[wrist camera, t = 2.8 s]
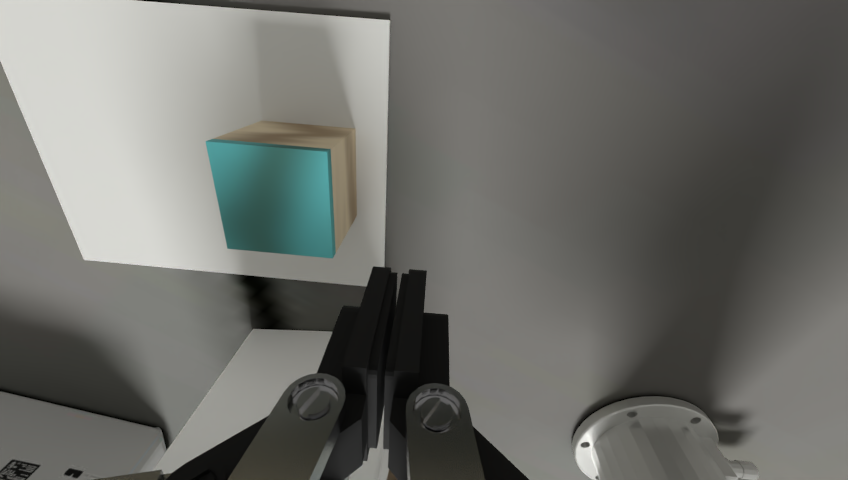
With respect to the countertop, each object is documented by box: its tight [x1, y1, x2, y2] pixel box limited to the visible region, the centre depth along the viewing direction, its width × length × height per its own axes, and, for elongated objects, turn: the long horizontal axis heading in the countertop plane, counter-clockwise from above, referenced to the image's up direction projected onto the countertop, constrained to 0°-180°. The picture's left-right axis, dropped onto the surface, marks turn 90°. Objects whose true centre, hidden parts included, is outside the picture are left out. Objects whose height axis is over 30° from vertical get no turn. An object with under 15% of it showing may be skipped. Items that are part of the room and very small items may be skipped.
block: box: [205, 121, 357, 259], centre depth 22 cm, size 6×6×6 cm
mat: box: [0, 0, 390, 287], centre depth 25 cm, size 24×18×1 cm
